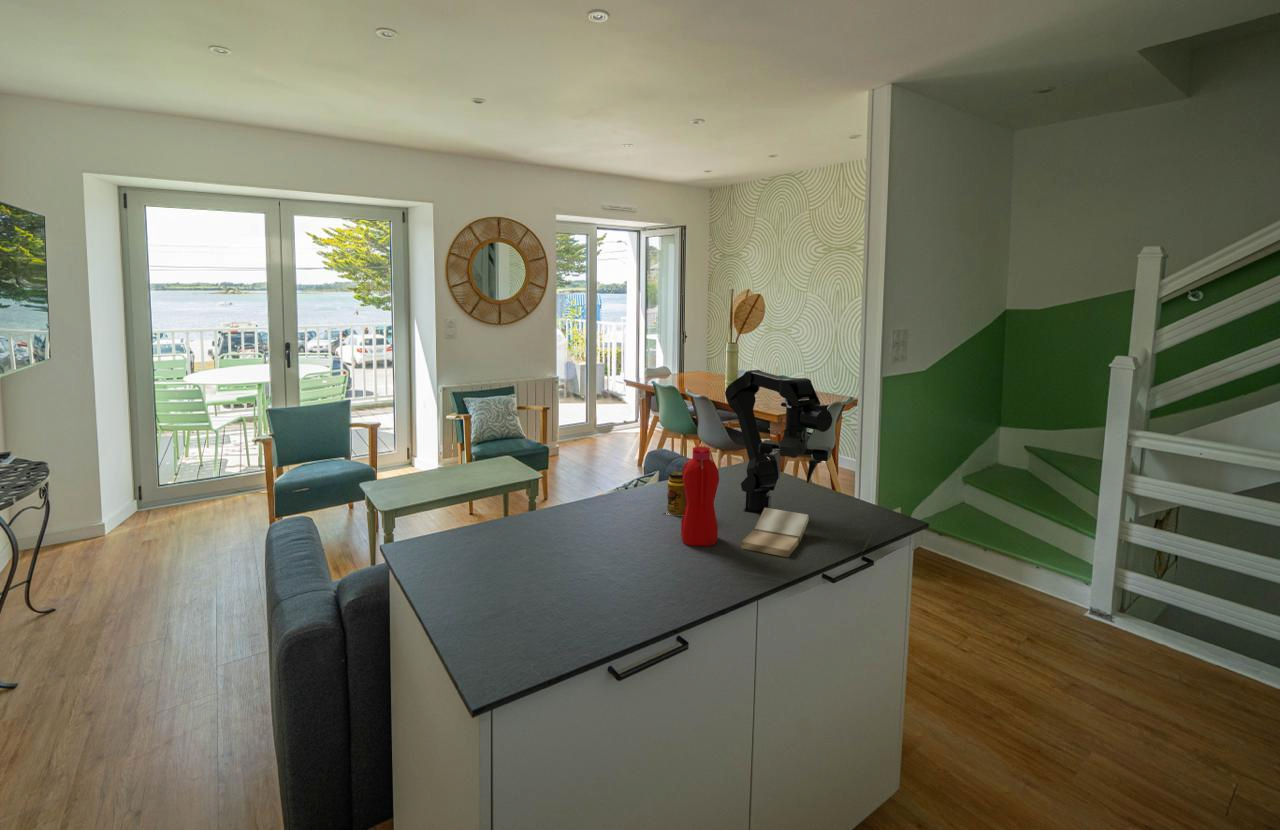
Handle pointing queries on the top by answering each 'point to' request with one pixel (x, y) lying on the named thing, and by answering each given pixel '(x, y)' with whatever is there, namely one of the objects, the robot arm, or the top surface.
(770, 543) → the floor board
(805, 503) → the top surface
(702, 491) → the water bottle
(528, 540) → the top surface
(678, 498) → the condiment
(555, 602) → the top surface
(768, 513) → the plank
